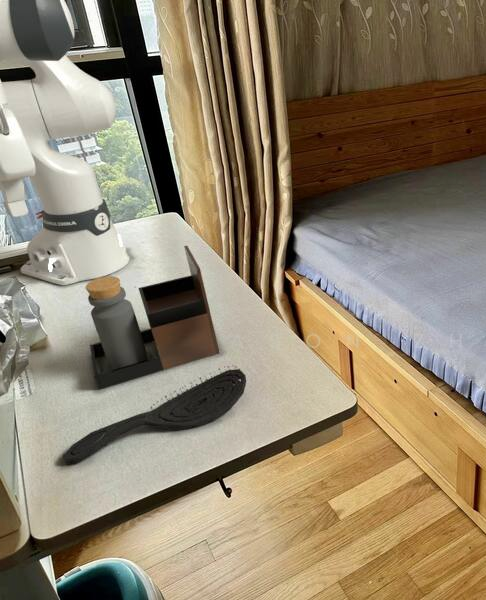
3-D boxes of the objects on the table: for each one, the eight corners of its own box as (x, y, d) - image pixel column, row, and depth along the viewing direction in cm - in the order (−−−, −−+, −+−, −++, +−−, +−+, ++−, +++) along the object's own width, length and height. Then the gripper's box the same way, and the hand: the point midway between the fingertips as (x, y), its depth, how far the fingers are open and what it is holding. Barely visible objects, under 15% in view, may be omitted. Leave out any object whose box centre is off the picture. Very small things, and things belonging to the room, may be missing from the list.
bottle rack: (98, 389, 84) (64, 300, 76) (94, 357, 91) (62, 272, 83) (219, 353, 91) (199, 268, 83) (206, 325, 99) (187, 245, 91)
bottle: (134, 375, 86) (107, 294, 79) (102, 371, 88) (72, 290, 80) (156, 354, 91) (131, 275, 84) (125, 351, 92) (98, 272, 85)
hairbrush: (52, 428, 72) (232, 354, 84) (63, 448, 74) (237, 372, 86) (60, 467, 66) (253, 381, 78) (72, 487, 68) (258, 401, 80)
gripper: (26, 87, 58) (67, 213, 64) (-41, 92, 70) (0, 198, 75) (-43, 92, 54) (8, 227, 59) (-102, 97, 65) (-55, 210, 71)
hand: (3, 211), depth 67 cm, fingers open, 8 cm apart
